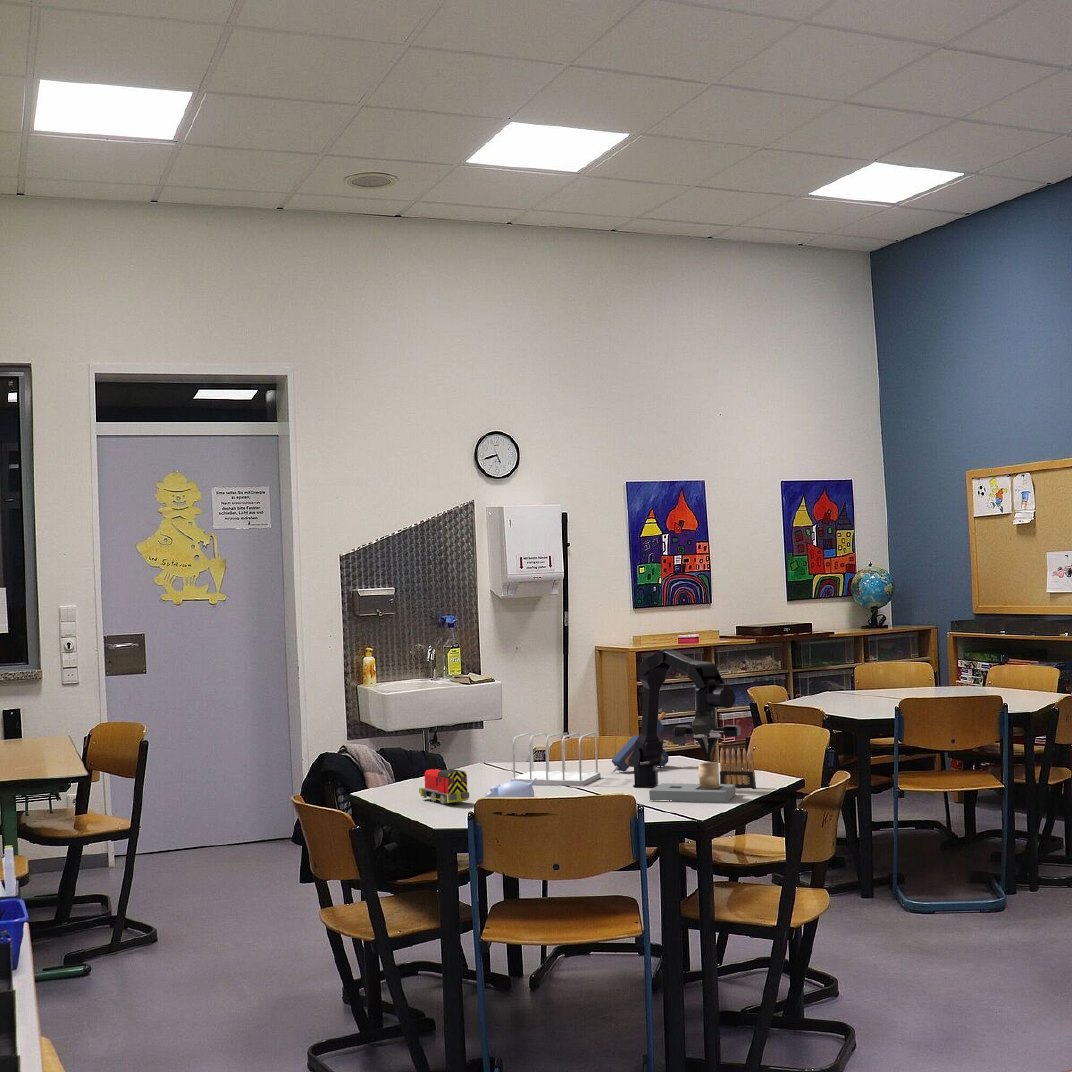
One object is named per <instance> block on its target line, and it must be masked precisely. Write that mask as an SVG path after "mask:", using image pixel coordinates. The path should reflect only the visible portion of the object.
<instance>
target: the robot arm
mask: <svg viewBox="0 0 1072 1072" xmlns="http://www.w3.org/2000/svg"><path fill="white" fill-rule="evenodd" d="M672 668H674V669H677V670H678V671H680V672H683V673H684V674H686V676H687V678H688V679H689V680H690V681H691V682H692V683H694V684H693V685H692V686H691V687H690V691H694V697H695V698H694V699H695V701H694V702H695V712H694V713H695V714H694V715H695V716H694V719H693V720H692V723H691V725H690V724H679V725H676V726H675V727H674V728H673V732H672V733H673V735H672V736H673V737H677V738H678V737H682V738H683V737H685V736H686V735H693V737H692V739H693V740H696V742H698V744H699V746H700V748H701V750H702V753H703V756H704V758H705V761H706V762H711V760H712V755H713V752H714V750H715V746H716V744H717V742H718V740H719V739H721V738H722V735H724V736H725V737H727V738H729V737H730V738H731V737H734V738H735V737H736V738H737V737H739V736H741V733H742V732H741V731H742V729H741V726H740V725H738V724H725V725H724V726H723V727H719V726H718V719H717V708H719V709H730V708H732V707H733V706H734V705H735V703H736V694H735V692H734V691H733V690H732V689H731V688H730V684H729V683H725V681H724V679H723V677H722V675H721V673H720V671H719V670H718V668H717V665H716V664H715V663H713V662H710V661H703V660H702V661H699V660H695V659H693V658H690V657H689V656H687V655H684V654H682V653H680V652H678V651H676V650H675V649H673V648H660V649H659V650H658V651H656V653H654V654H653V655H650V656H648V657H647V658H645V659H644V660H642V661H641V662H640V663H639V665H638V679H639V681H640V683H641V685H642V687H643V692H642V693H643V695H642V697H643V698H642V710H641V711H642V713H641V726H640V727H641V728H640V734H639V735H638V736H639V737H638V738H637V740H636V742H635V747H634V751H633V753H632V754H631V756H630V758H629V759H628V762H629V766H630V767H629V768H633V776H634V777H633V779H634V784H633V785H632V787H633V788H655V787H656V786H658V785H659V774H658V773H659V771H658V770H657V767H656V765H660V761H661V756H662V754H663V749H664V748H663V747H664V742H663V740H661V739H660V738H659V734H658V735H657V726H658V717H659V709H660V708H659V707H660V693H661V691H660V690H661V688H662V686H663V685H664V683H665V681H666V679H667V674H668V672H669V671H670V670H671V669H672ZM708 735H709V737H708ZM657 784H658V785H657Z"/></svg>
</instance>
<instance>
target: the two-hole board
mask: <svg viewBox="0 0 1072 1072" xmlns="http://www.w3.org/2000/svg"><path fill="white" fill-rule="evenodd" d="M719 787H720V789H719V790H700V783H677V782H675V783H674V782H673V783H671V782H664V783H663V782H662V783H660V784H658V785H656V786H654V787H652V788H651V789H650V790H649V801H650V800H669V801H670V800H672V801H690V802H689V803H707V804H709V803H712V804H713V803H714V804H715V803H717V804H718V803H719V804H726V803H727V802H729V801H730V800H732V798H734V797H735V796H736V791H737V790H736V788H735V784H720V783H719ZM733 796H734V797H733Z"/></svg>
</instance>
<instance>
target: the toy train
mask: <svg viewBox="0 0 1072 1072" xmlns="http://www.w3.org/2000/svg"><path fill="white" fill-rule="evenodd" d="M418 791H419V792H418V793H419V794H420V797H422V798H424V799H427V798H429V799H431V801H432V800H433V801H435V802H436V801H437V800H438V801H439V802H440V803H442V804H441V805H445V804H449V803H455V802H456V803H457V802H458V803H459V802H465V801H468V800H469V798H470V792H469V791H468V775H467V771H465V770H460V769H438V768H437V769H436V768H434V767H433V769H426V770H425V772H424V787H419V788H418ZM433 801H432V802H433Z"/></svg>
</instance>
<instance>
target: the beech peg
mask: <svg viewBox="0 0 1072 1072" xmlns="http://www.w3.org/2000/svg"><path fill="white" fill-rule="evenodd" d="M719 770H720V769H719V762H715V761H706V762H705V761H704V762H699V763H698V778H699V779H698V780H699V784H700V790H719V789H720V787H719V784H720V771H719Z"/></svg>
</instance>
